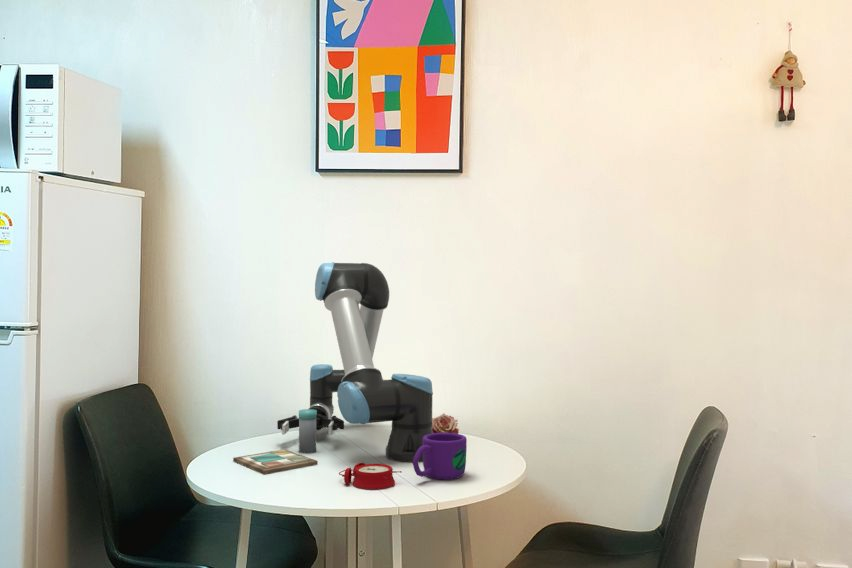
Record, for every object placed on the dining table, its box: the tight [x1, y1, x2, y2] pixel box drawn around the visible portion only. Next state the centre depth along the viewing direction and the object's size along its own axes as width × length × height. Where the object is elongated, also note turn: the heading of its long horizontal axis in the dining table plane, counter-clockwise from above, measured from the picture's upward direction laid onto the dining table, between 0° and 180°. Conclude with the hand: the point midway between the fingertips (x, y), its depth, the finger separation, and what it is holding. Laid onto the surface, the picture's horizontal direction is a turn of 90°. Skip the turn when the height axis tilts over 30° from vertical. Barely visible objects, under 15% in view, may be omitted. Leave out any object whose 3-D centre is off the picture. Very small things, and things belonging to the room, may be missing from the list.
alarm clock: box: [338, 462, 403, 490], centre depth 175 cm, size 10×6×15 cm
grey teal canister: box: [298, 408, 317, 454], centre depth 208 cm, size 5×5×12 cm
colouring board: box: [232, 449, 318, 476], centre depth 194 cm, size 18×16×1 cm
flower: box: [432, 413, 460, 434], centre depth 223 cm, size 10×9×8 cm
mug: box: [412, 433, 468, 481], centre depth 180 cm, size 17×11×10 cm, turn 138°
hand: (306, 430), depth 208 cm, fingers open, 13 cm apart
